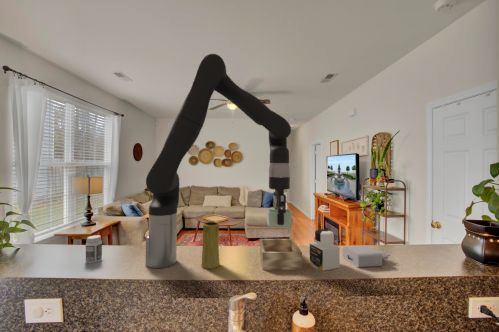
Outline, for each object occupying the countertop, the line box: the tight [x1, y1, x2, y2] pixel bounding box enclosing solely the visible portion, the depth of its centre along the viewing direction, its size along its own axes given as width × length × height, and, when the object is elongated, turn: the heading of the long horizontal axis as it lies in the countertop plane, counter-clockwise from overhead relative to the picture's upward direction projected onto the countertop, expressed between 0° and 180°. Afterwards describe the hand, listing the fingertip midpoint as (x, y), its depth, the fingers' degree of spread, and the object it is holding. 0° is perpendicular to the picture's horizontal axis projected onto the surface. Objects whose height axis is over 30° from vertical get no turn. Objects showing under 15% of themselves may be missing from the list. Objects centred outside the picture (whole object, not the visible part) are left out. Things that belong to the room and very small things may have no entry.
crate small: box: [266, 208, 293, 228], centre depth 81 cm, size 8×6×5 cm
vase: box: [201, 221, 220, 270], centre depth 76 cm, size 6×6×14 cm
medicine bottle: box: [309, 228, 341, 272], centre depth 77 cm, size 7×7×12 cm
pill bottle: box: [85, 234, 103, 264], centre depth 79 cm, size 5×5×8 cm
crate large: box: [259, 238, 303, 271], centre depth 81 cm, size 13×15×6 cm
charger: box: [342, 245, 390, 269], centre depth 80 cm, size 5×9×15 cm
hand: (279, 222), depth 81 cm, fingers closed on crate small, 6 cm apart
